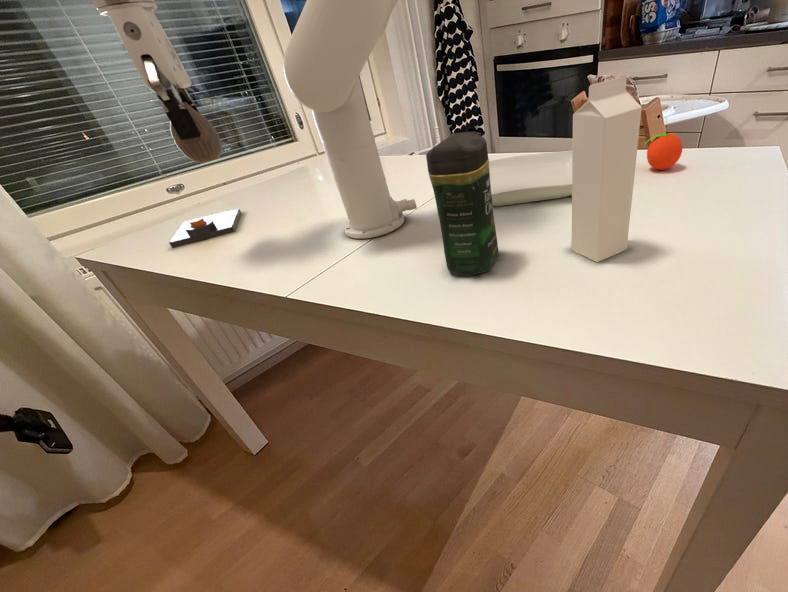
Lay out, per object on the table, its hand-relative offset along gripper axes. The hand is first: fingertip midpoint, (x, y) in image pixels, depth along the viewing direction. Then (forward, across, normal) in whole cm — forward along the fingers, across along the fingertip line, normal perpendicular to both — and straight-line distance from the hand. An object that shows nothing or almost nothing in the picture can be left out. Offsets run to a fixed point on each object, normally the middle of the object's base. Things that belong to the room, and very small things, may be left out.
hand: (194, 134), depth 69 cm
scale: (+22, +25, +12) cm, 35 cm away
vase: (+4, 0, 0) cm, 4 cm away
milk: (+21, -44, -54) cm, 73 cm away
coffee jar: (+22, -35, -36) cm, 55 cm away
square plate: (+22, -8, -60) cm, 64 cm away
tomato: (+21, -19, -87) cm, 91 cm away
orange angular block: (+19, +19, +13) cm, 30 cm away
